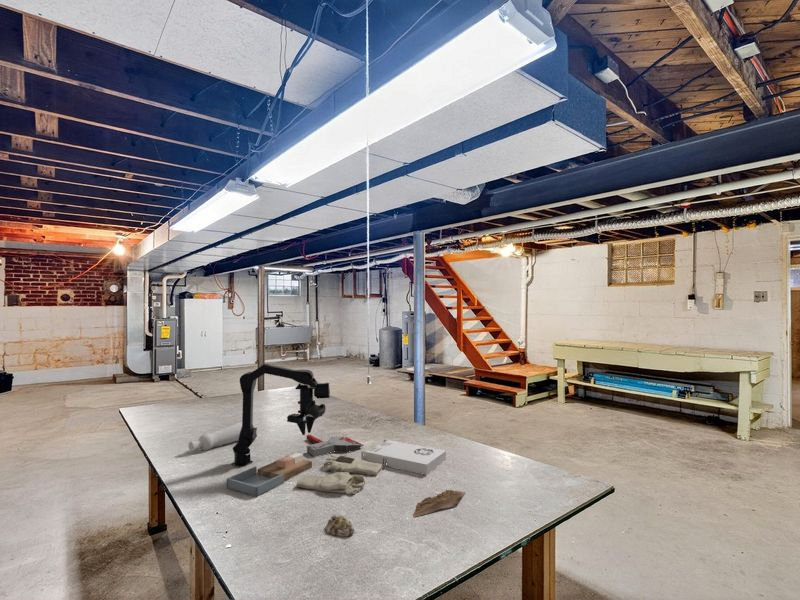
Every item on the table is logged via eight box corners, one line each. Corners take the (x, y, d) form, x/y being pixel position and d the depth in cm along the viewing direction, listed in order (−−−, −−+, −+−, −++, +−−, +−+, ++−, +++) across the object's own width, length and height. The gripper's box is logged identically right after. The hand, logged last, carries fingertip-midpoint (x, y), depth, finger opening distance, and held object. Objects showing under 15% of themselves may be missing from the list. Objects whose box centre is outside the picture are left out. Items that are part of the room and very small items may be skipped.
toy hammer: (332, 427, 221) (363, 441, 198) (332, 434, 221) (363, 449, 197) (291, 436, 206) (319, 452, 183) (291, 444, 206) (319, 460, 182)
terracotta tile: (276, 466, 169) (276, 460, 169) (285, 462, 173) (285, 456, 173) (285, 468, 166) (285, 462, 167) (294, 464, 171) (294, 458, 171)
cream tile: (286, 461, 174) (286, 455, 174) (294, 458, 178) (294, 452, 178) (294, 463, 171) (294, 457, 171) (303, 459, 176) (303, 454, 176)
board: (257, 475, 166) (257, 469, 166) (287, 461, 181) (287, 455, 181) (282, 482, 159) (282, 475, 159) (311, 467, 174) (311, 461, 174)
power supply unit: (384, 449, 198) (383, 439, 198) (446, 461, 181) (446, 450, 181) (361, 462, 181) (361, 450, 181) (427, 477, 165) (427, 464, 165)
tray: (226, 488, 154) (226, 478, 154) (255, 475, 166) (255, 466, 166) (256, 497, 146) (256, 487, 146) (284, 482, 158) (284, 473, 158)
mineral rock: (318, 521, 125) (338, 506, 130) (321, 533, 126) (341, 517, 131) (338, 536, 117) (360, 519, 123) (341, 549, 118) (362, 531, 123)
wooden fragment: (453, 488, 153) (453, 485, 153) (476, 499, 145) (475, 496, 145) (400, 510, 137) (400, 507, 137) (422, 523, 128) (422, 520, 128)
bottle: (239, 429, 219) (184, 446, 194) (245, 416, 216) (189, 432, 191) (248, 441, 215) (192, 460, 190) (254, 428, 212) (198, 446, 187)
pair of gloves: (333, 461, 181) (333, 449, 182) (385, 469, 172) (385, 457, 172) (292, 489, 153) (292, 475, 154) (352, 500, 144) (352, 485, 144)
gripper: (306, 404, 170) (306, 442, 169) (333, 396, 186) (333, 430, 186) (286, 402, 175) (286, 438, 175) (314, 394, 192) (314, 427, 191)
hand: (306, 433), depth 182 cm, fingers open, 3 cm apart
